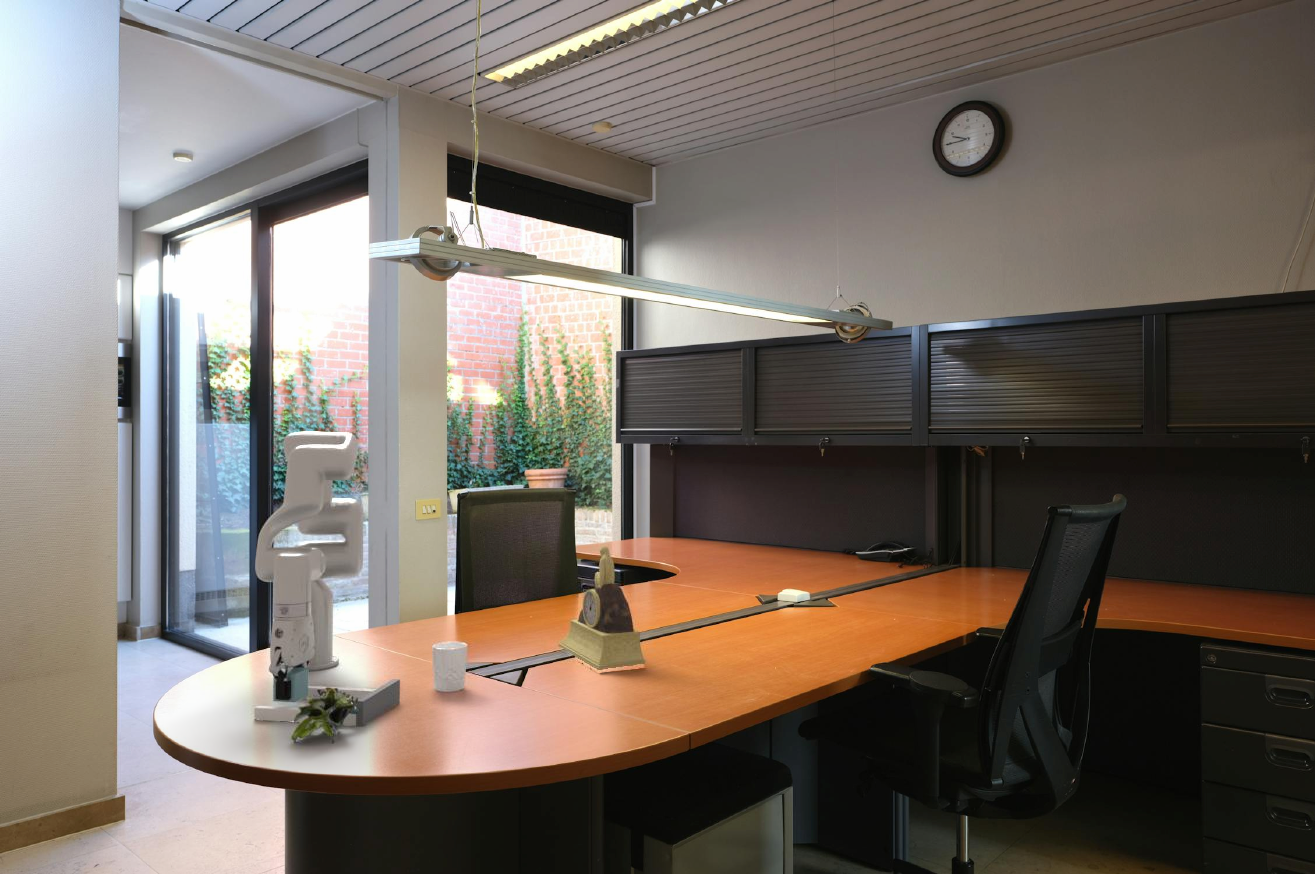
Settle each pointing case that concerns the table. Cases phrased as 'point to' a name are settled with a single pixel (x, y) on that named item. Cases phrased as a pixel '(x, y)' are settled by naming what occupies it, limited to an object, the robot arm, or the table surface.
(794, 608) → the table surface
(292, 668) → the block
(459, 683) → the white cup
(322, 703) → the passion flower
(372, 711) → the guide channel
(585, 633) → the decorative clock
